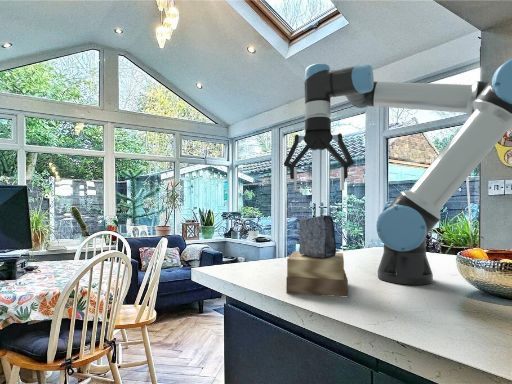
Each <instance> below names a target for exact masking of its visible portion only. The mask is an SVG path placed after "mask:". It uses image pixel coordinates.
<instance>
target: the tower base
mask: <svg viewBox="0 0 512 384" xmlns="http://www.w3.org/2000/svg"><path fill="white" fill-rule="evenodd" d="M348 280H349V279H348V277H347V274H346V271H345V269H344V280H335V279H318V278H301V277H287V276H286V281H285V282H286V287H285V288H286V289H285V290H286V292H285V293H286V294H290V295H304V296H305V295H307V296H309V295H310V296H322V295H334V296H333V297H340V296H348V297H349V291H348V290H349V283H348V282H349V281H348Z"/></svg>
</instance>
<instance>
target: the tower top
mask: <svg viewBox="0 0 512 384" xmlns="http://www.w3.org/2000/svg"><path fill="white" fill-rule="evenodd" d="M286 262H287V263H286V265H287V266H286V267H287V268H286V277H301V278H318V279H335V280H344V270H345V264H344V263H345V261H344V253H343V252H336V254H335V255H333V256H331V257H325V258H316V257H311V256H307V255H304V254H300V252H299V250H298V251H297V250H296V251H295V250H293V251H292V253H291V254H290V255H289V256H288V257H287V260H286Z"/></svg>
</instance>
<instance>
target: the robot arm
mask: <svg viewBox="0 0 512 384" xmlns="http://www.w3.org/2000/svg"><path fill="white" fill-rule="evenodd" d="M303 83H304V84H303V85H304V118H305V119H304V135H299V134H295V135H294V141H293V144H292V146H291V148H290V150H289V152H288V153H287V156H286V158H285V161H284V162H283V166H284V167H286V168H288V169H289V178H290V180H293V191H298V190H297V187H298V186H297V185H298V184H297V182H298V181H297V178H298V176H297V175H298V174H297V172H298V171H297V167H296V166H297V164H299V162H300V161H301V159H303V157H304V156H305V155H306V154H307V152H308V151H310V150H312V151H318V150H319V151H324V150H327V151H328V152H329V153H330V155H331V156H333V158H334V159H335V160H336V161H337V163H339V165H340V166H341V167H340V168H339V189H340V191H344V190H345V179H348V177H349V173H348V170H349V167H350V166H353V165H354V164H355V161H354V159H353V157H352V156H351V154H350V151H349V150H348V148H347V146H346V144H345V143H344V140H343V134H342V133H341V132H340V133H338V134H332V128H331V127H332V121H331V118H330V117H331V114H332V113H331V111H332V109H331V100H332V99H331V98H335V97H345V98H346V99H347V100H348V102H349V104H350V105H351V106H353V107H355V108H356V109H365V108H367V107H377V108H390V109H391V108H393V109H406V110H420V111H421V110H422V111H423V110H424V111H434V112H435V111H436V112H449V113H450V112H451V113H463V114H466V115H467V116H468V118H467V119H466V120H465V122H463V124H462V125H461V127H460V128H459V129H458V130H457V132H456V133H455V134H454V135H453V137H451V139H450V140H449V142H448V143H447V144H446V145H445V146H444V148H443V149H442V150H441V151H440V152H439V154H437V156H436V157H435V159H434V160H433V161H432V162H431V164H429V166H428V167H427V169H426V170H424V172H423V174H422V175H420V177H419V179H418V180H417V181H416V182H415V183H414V184H413V186H412V187H411V188H410V189H408V190H401V191H400V192H399V193H398V195H397V196H396V197H395V198H394V199H393V200H391V201H390V200H388V201H386V202H384V205H383V209H382V212H381V213H380V214H379V216H378V217H377V221H376V233H377V236H378V238H379V239H380V242H382V244H383V253H382V257H381V259H380V262H379V265H378V268H377V278H378V279H380V280H382V281H384V282H389V283H392V284H398V285H410V286H411V285H414V286H421V285H430V284H433V283H434V279H433V277H434V276H433V275H434V274H433V270H432V268H431V266H430V262H429V259H428V256H427V236H428V234H429V233H430V232H431V231H432V230H433V228H434V227H435V226H436V225H437V224H438V223H439V221H440V220H441V209H443V207H444V205H446V203H447V202H448V201H449V200H450V199H451V197H453V195H454V193H456V192H457V190H458V189H459V188H460V187H461V186H462V185H463V184H464V182H465V181H466V180H467V179H468V177H469V176H470V175H472V173H473V172H474V171H475V169H476V168H477V167H478V166H479V165H480V164H481V162H482V161H483V160H484V159H485V157H487V155H488V154H490V152H491V151H492V149H493V148H494V147H495V146H496V144H498V143H499V141H500V140H501V139H502V138H503V137H504V136H505V135H506V133H508V132H509V130H512V58H510V59H508V60H506V61H505V62H504V63H503V64H501V65H499V67H498V68H496V70H495V72H494V73H493V76H492V77H491V79H490V80H487V81H483V80H481V81H479V80H476V81H475V82H474V83H472V84H458V83H457V84H456V83H455V84H454V83H451V84H450V83H430V82H429V83H427V82H400V81H398V82H397V81H376V80H375V81H374V70H373V66H371V65H370V64H363V65H362V64H361V65H360V64H357V65H355V66H349V67H345V68H339V69H333V70H331V67H330V66H329V65H328V64H327V63H313V64H311V65H308V66H307V67H306V68H305V70H304V81H303ZM333 140H334V143H335V142H336V143H337V146H338V147H339V149H340V151H341V153H342V154H343V157H344V158H345V159H344V158H343V157H342V156H341V155H340V154H339V153H338V151H336V149H335V148H334V147H333V146H332V145H331V142H332V141H333ZM302 141H304V143H305V144H306V145H305V147H303V149H302V150H301V151H300V152H299V154H298V155H297V156H296V157H295V158H294V160H293V161H292V162H291V160H292V158H293V155H294V153H295V152H296V150H297V147H298V146H299V144H301V143H302ZM345 160H346V161H345ZM290 162H291V163H290Z"/></svg>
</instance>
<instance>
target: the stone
mask: <svg viewBox="0 0 512 384" xmlns="http://www.w3.org/2000/svg"><path fill="white" fill-rule="evenodd" d="M298 226H299V240H298V244H299V248H298V251H299V252H300V254H304V255H307V256H311V257H316V258H325V257H331V256H333V255H335V254H336V253H337V243H336V232H335V222H334V219H333V218H332V216H331V215H318V216H313V217H307V218H302V219H299V221H298Z"/></svg>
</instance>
